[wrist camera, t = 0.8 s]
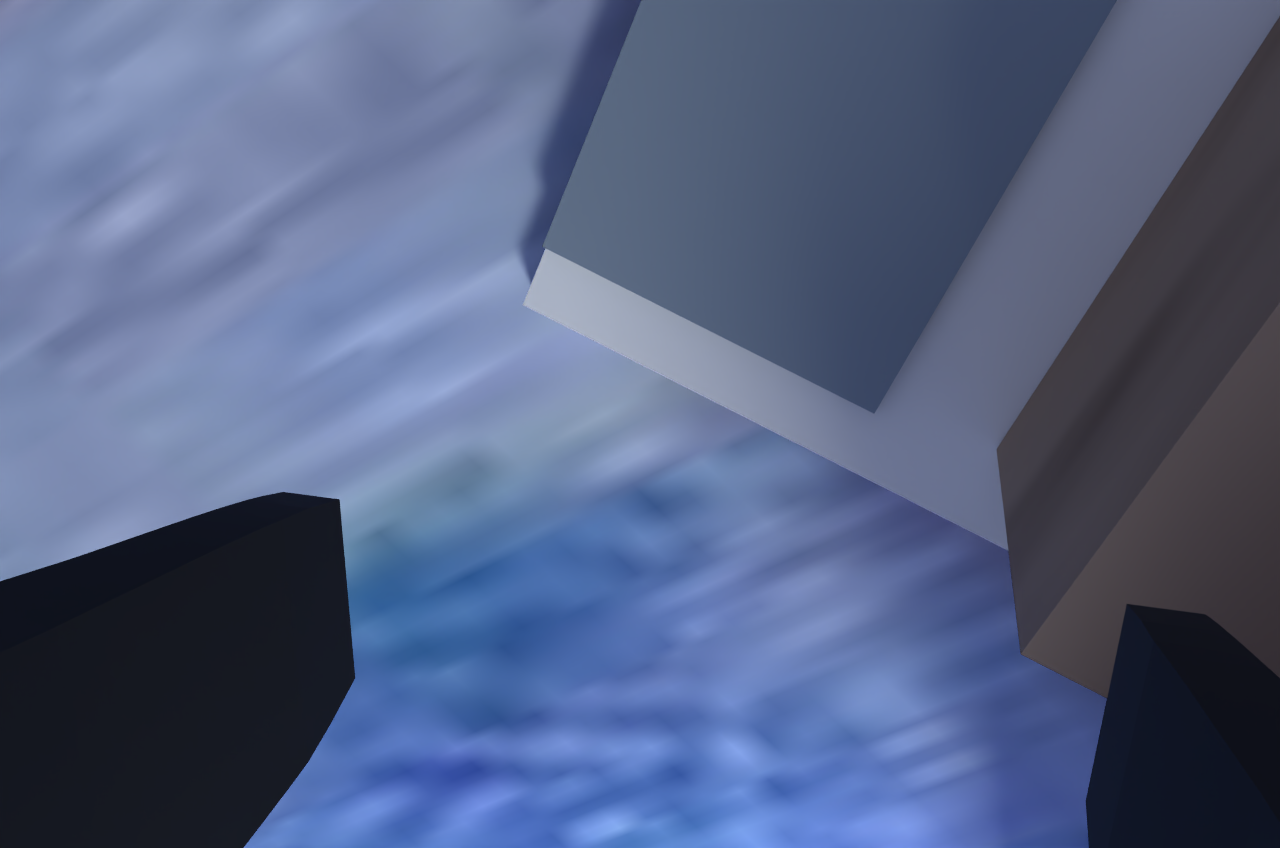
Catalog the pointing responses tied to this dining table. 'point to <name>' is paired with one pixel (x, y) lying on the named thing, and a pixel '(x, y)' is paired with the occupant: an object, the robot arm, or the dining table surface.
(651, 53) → the pad
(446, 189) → the dining table surface
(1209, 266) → the walnut block
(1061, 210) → the board
